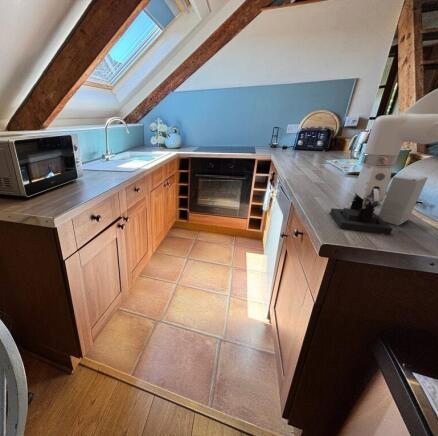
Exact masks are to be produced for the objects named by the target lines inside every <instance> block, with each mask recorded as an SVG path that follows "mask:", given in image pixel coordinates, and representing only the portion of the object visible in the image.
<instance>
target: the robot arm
mask: <svg viewBox="0 0 438 436" xmlns="http://www.w3.org/2000/svg"><path fill="white" fill-rule="evenodd" d="M404 143H413V144H422V145H429V144H435V143H438V88H436V89H434V90H432V91H431V92H428V93H427V94H426V95H424V96H423V97H421V98H420V99H418V100H417V101H415V102H414V103H413V104H412V105H410V106H408V108H407V109H406V110H404V111H403V112H401V113H400V114H388V115H387V114H385V115H379V116H377V117H376V118H375V119H374V121H373V123H372V126H371V129H370V132H369V136H368V138H367V142H366V145H365V147H364V151H363V155H362V157H361V161H360V165H361V166H362V167H361V169H360V171H359V174H358V177H357V178H356V179H357V180H356V182H355V185H354V189H353V190H354V192H353V193H354V195H353V198H352V201H351V205H350V208H349V209H358V210H359V213H358V216H357V220H358V221H365V222H370V220H371V217H372V215H373V213H375V210H376V207H377V206H378V205H379V203H380V202H383V201H384V199H385V197H386V194H387V192H388V189H389V184H390V180H391V176H392V173H393V172H392V170H393V168H394V167H395V165H396V163H397V160H398V157H399V154H400V152H401V150H402V146H403V144H404ZM367 197H371V198H372V199H367ZM367 201H370V202H369V203H367Z"/></svg>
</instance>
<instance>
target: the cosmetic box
mask: <svg viewBox="0 0 438 436" xmlns="http://www.w3.org/2000/svg"><path fill="white" fill-rule="evenodd" d="M428 179H429V177H428V176H425V175H418V174H411V173H401V174H398V175H396V176H393V177H392V180H391V182H390V186H388V189H387V191H386V194H385V197H384V200H383V201H382V205H381V207H380V209H379V212H378V214H377V216H378V217H380V218H381V219H382V220H383V221H384V222H385V223H387V224H391V225H396V226H400V225H402V224H403V223H405V222H407V221H409V219H410V218H411V216H412V213H413V211H414V208H415V207H416V205H417V202H418V200H419V197H420V196H421V193H422V191H423V189H424V187H425V184H426V182H427V180H428Z"/></svg>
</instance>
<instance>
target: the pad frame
mask: <svg viewBox="0 0 438 436" xmlns="http://www.w3.org/2000/svg"><path fill="white" fill-rule="evenodd" d="M343 209H344V208H342V209H341V208H333V207H332V208H331V209H330V212H329V213H330V215H331V217H332V218H333V220H334V221H335V223H336V224H337V226H338V228H339V229H343V230H349V231H357V232H364V233H373V234H380V235H391V233H392V231H393V228H392V227H391V226H390V225H389V223H387V222H384V221H383V220H382V219H381V218H380V217H378V214H377V213H375V212H373V214H374V215H375V216H376V217H377V218H378V220H377V222H376V224H374V223H365V222H357V221H349V220H346V219H345V218H344V217H343V215H342V212H343Z"/></svg>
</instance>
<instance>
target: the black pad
mask: <svg viewBox="0 0 438 436" xmlns="http://www.w3.org/2000/svg"><path fill="white" fill-rule="evenodd" d="M342 209H343V212H342V215H343V217H344V218H345V219H346V220H349V221H357V222H365V221H358V220H357V216H358V213H359V210H358V209H350V208H349V207H348V208H346V207H343V208H342ZM377 220H378V218H377V217H376V216H375V215H374V214H373V215H372V217H371V220H370V222H365V223H374V224H376V222H377Z"/></svg>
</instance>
